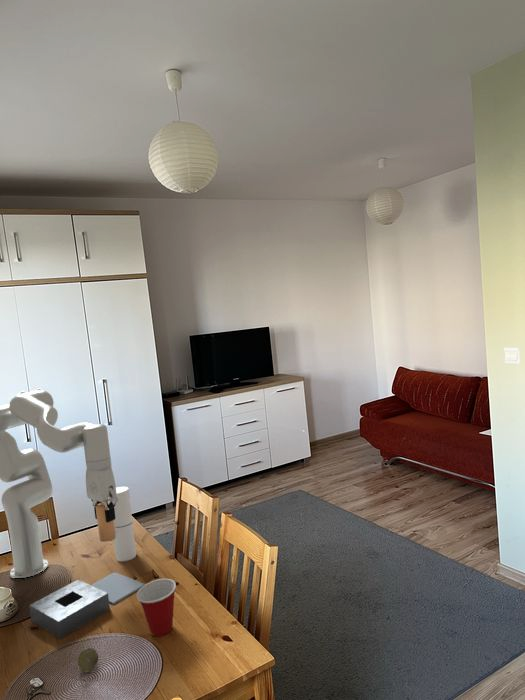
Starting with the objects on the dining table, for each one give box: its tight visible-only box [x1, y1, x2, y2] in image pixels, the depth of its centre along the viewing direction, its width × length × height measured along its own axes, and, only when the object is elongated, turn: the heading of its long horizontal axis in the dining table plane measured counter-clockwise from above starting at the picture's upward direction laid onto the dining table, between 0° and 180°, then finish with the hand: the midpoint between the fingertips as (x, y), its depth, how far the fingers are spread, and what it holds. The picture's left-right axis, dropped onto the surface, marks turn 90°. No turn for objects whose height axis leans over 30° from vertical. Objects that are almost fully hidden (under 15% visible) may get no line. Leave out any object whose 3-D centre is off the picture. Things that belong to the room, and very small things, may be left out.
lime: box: [77, 647, 99, 673], centre depth 127 cm, size 4×5×5 cm
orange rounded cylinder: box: [96, 501, 116, 543], centre depth 164 cm, size 5×5×11 cm
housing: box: [29, 579, 111, 640], centre depth 152 cm, size 16×16×5 cm
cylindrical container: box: [108, 486, 137, 562], centre depth 186 cm, size 7×7×25 cm
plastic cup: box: [136, 578, 177, 637], centre depth 140 cm, size 11×11×12 cm
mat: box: [90, 571, 145, 605], centre depth 165 cm, size 16×12×1 cm
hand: (105, 518), depth 163 cm, fingers closed on orange rounded cylinder, 5 cm apart
